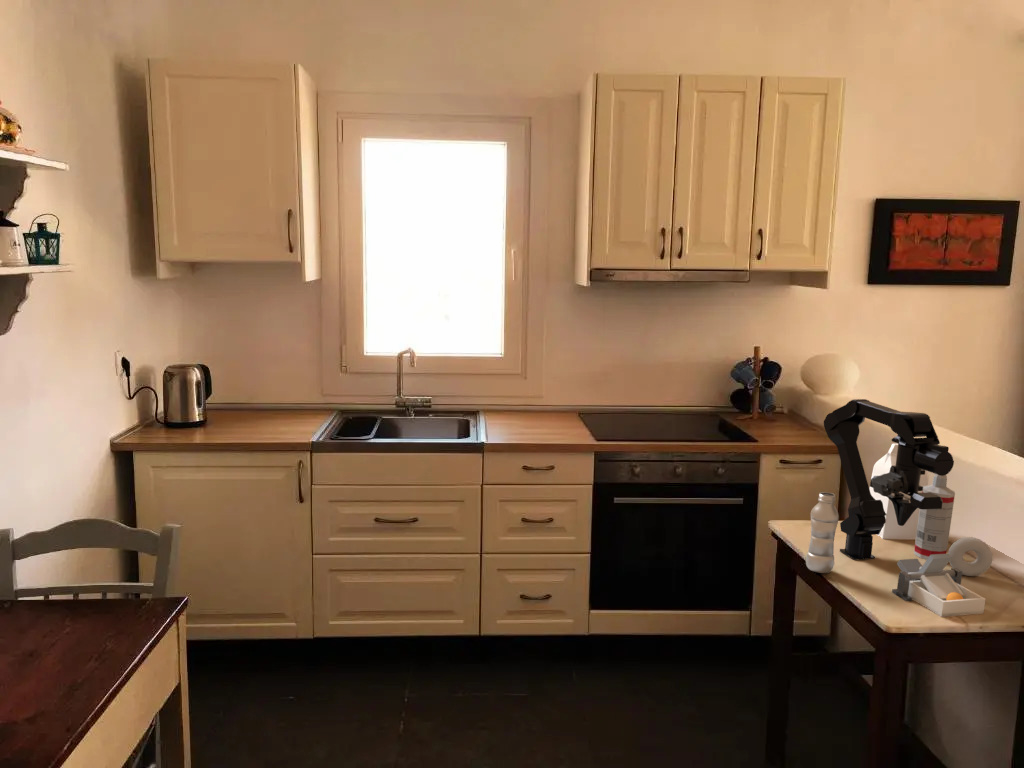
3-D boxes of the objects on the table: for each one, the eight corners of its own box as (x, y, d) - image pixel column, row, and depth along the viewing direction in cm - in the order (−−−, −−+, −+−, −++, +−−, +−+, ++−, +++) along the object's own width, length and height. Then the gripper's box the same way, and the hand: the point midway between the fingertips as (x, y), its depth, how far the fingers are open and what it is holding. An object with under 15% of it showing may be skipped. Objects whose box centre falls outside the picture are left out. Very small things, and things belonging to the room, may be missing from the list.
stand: (891, 592, 191) (894, 569, 190) (948, 588, 194) (951, 565, 193) (906, 601, 186) (909, 577, 185) (964, 597, 190) (967, 573, 189)
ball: (952, 592, 180) (955, 608, 180) (966, 591, 181) (968, 607, 180) (941, 592, 184) (944, 608, 183) (954, 591, 184) (957, 607, 184)
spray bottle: (933, 562, 210) (946, 470, 206) (907, 552, 216) (919, 462, 212) (952, 558, 214) (964, 467, 209) (926, 548, 220) (938, 460, 216)
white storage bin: (905, 595, 189) (907, 581, 189) (946, 592, 192) (948, 578, 191) (941, 616, 179) (943, 602, 178) (983, 613, 181) (985, 598, 181)
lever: (883, 564, 196) (902, 536, 189) (927, 561, 199) (947, 533, 192) (915, 612, 185) (937, 583, 179) (961, 608, 188) (983, 580, 182)
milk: (901, 525, 239) (912, 439, 234) (923, 539, 227) (935, 450, 223) (862, 524, 238) (872, 438, 233) (882, 538, 226) (893, 449, 222)
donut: (987, 575, 203) (993, 538, 201) (991, 581, 200) (997, 542, 198) (943, 570, 206) (949, 532, 204) (947, 575, 202) (952, 537, 201)
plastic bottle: (835, 577, 198) (844, 499, 194) (806, 574, 199) (815, 496, 196) (830, 567, 204) (839, 491, 200) (802, 564, 205) (810, 489, 202)
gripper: (855, 454, 203) (848, 514, 206) (907, 476, 185) (899, 540, 188) (893, 453, 206) (885, 512, 208) (948, 474, 188) (939, 538, 191)
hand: (900, 525), depth 199 cm, fingers closed
